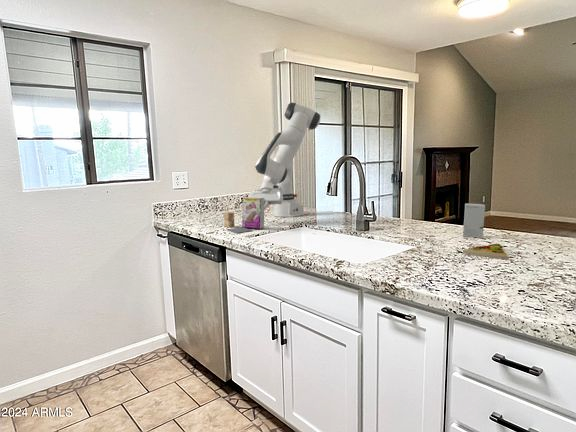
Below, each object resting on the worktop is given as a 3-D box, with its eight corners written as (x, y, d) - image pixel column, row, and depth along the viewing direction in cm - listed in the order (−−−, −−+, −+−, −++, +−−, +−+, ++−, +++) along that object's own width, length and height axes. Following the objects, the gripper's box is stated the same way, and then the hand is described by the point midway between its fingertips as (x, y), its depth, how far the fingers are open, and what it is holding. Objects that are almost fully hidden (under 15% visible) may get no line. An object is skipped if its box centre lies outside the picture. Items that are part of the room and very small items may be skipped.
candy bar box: (241, 227, 208) (242, 197, 207) (246, 227, 213) (247, 197, 212) (259, 229, 203) (260, 197, 203) (264, 228, 208) (265, 197, 207)
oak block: (230, 226, 218) (229, 212, 217) (234, 226, 215) (233, 212, 214) (224, 227, 215) (223, 212, 214) (228, 227, 213) (228, 213, 211)
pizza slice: (460, 255, 146) (461, 247, 146) (479, 245, 161) (479, 238, 161) (506, 262, 136) (506, 254, 135) (521, 250, 150) (521, 243, 150)
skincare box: (462, 237, 174) (464, 204, 171) (462, 234, 179) (464, 203, 177) (483, 238, 170) (485, 205, 168) (483, 235, 176) (484, 203, 173)
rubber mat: (241, 227, 211) (241, 227, 211) (253, 231, 201) (253, 230, 201) (226, 230, 206) (226, 229, 205) (236, 233, 196) (236, 232, 196)
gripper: (249, 186, 223) (243, 205, 215) (283, 186, 216) (278, 205, 208) (252, 193, 227) (247, 212, 220) (285, 193, 221) (281, 212, 213)
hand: (262, 209), depth 214 cm, fingers closed
